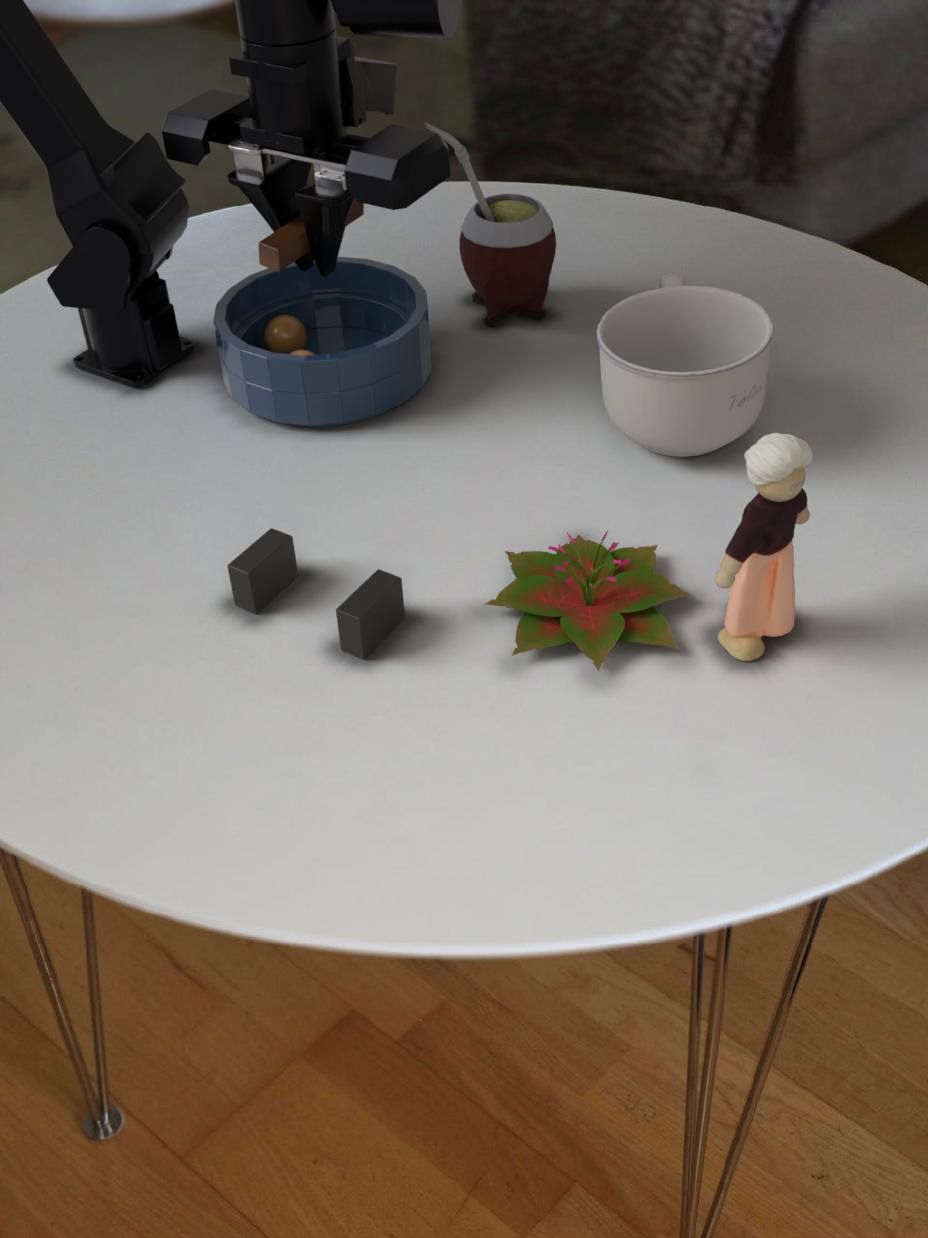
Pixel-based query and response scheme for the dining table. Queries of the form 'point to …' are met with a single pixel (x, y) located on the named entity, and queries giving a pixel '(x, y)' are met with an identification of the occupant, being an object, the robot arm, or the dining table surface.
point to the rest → (357, 617)
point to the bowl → (326, 342)
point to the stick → (293, 241)
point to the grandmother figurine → (765, 547)
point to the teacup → (684, 366)
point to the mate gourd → (505, 248)
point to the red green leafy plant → (588, 597)
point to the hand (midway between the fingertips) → (317, 271)
